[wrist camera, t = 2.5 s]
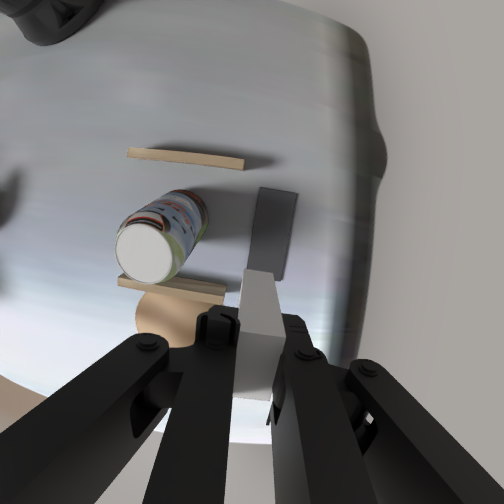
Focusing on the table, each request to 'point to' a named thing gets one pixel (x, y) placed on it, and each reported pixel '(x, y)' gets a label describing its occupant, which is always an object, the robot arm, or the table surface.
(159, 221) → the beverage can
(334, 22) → the table surface
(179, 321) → the coaster
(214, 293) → the channel
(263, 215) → the pad
